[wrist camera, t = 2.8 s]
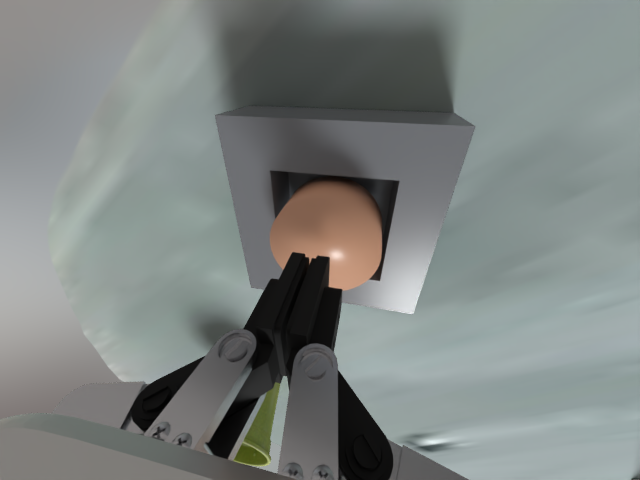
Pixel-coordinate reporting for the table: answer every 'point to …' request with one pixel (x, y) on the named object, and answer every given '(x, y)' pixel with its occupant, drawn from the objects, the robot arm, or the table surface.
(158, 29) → the table surface
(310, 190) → the push button
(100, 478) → the robot arm
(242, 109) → the button box
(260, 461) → the plant pot
